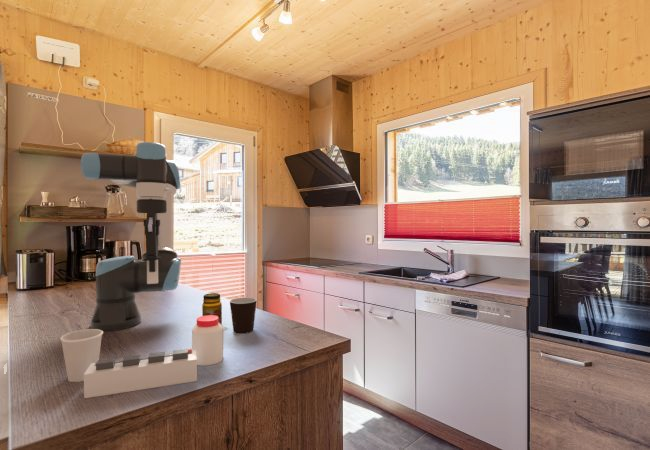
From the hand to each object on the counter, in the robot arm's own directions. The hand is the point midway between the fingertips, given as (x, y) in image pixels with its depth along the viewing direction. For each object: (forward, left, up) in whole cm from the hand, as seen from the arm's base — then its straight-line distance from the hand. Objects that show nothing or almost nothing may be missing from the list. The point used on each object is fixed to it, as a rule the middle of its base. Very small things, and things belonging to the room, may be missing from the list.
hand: (152, 283), depth 101 cm
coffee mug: (-9, +27, -19) cm, 34 cm away
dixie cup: (+13, -14, -19) cm, 27 cm away
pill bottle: (+13, +14, -19) cm, 27 cm away
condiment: (-12, +16, -19) cm, 28 cm away
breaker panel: (+22, 0, -19) cm, 29 cm away
